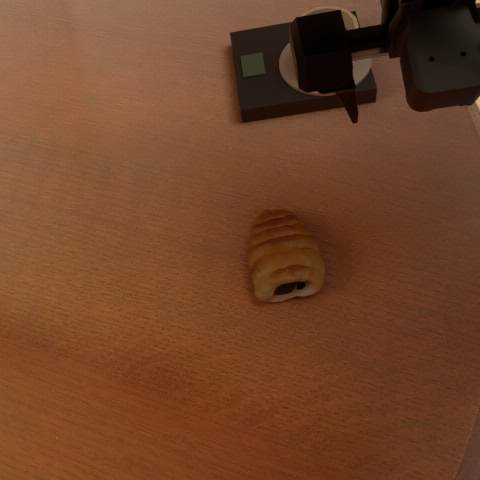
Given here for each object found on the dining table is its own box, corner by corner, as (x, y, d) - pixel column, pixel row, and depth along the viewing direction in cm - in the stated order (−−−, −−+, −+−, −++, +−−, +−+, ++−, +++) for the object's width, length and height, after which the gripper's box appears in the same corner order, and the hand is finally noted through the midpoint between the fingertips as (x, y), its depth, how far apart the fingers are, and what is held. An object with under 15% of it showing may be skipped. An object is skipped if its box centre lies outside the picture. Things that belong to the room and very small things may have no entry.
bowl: (350, 34, 80) (351, 0, 77) (362, 76, 77) (363, 43, 73) (290, 44, 81) (288, 11, 77) (299, 87, 78) (297, 54, 74)
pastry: (238, 225, 72) (234, 203, 69) (307, 211, 72) (306, 187, 69) (257, 310, 67) (254, 289, 64) (332, 295, 67) (332, 273, 64)
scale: (357, 23, 84) (358, 6, 82) (379, 101, 78) (380, 85, 76) (231, 45, 86) (229, 29, 84) (242, 122, 80) (239, 107, 78)
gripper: (306, 58, 46) (311, 204, 59) (627, 5, 44) (560, 169, 57) (283, -52, 52) (292, 102, 65) (563, -105, 50) (516, 66, 63)
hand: (410, 110), depth 62 cm, fingers open, 9 cm apart
